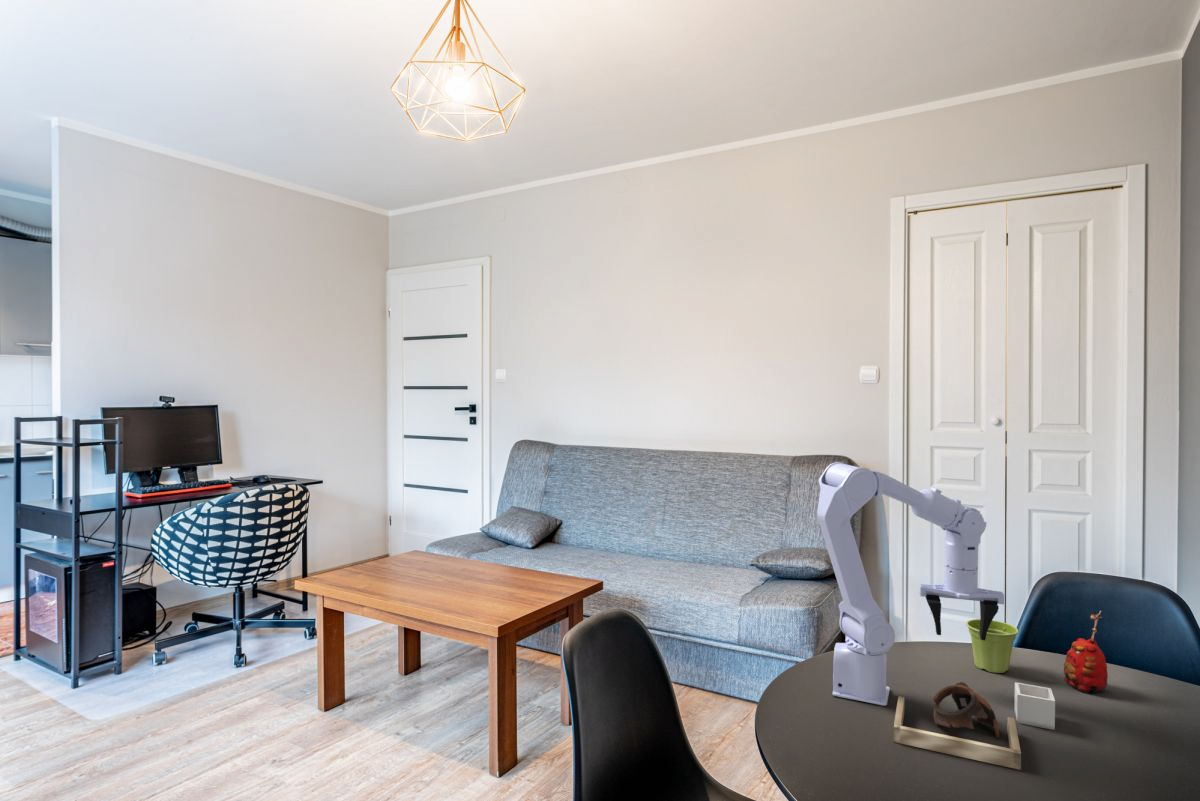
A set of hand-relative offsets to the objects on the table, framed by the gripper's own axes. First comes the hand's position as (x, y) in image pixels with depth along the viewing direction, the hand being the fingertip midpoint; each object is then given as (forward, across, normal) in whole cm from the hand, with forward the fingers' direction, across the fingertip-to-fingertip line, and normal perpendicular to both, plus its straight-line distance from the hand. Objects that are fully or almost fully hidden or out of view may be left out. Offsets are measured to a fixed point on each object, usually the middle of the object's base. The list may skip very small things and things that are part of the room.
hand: (960, 635), depth 133 cm
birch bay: (+10, -4, -22) cm, 24 cm away
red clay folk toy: (+10, +23, +8) cm, 27 cm away
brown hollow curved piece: (+10, -1, -17) cm, 20 cm away
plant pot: (+10, +8, +12) cm, 18 cm away
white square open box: (+10, +10, -10) cm, 18 cm away
